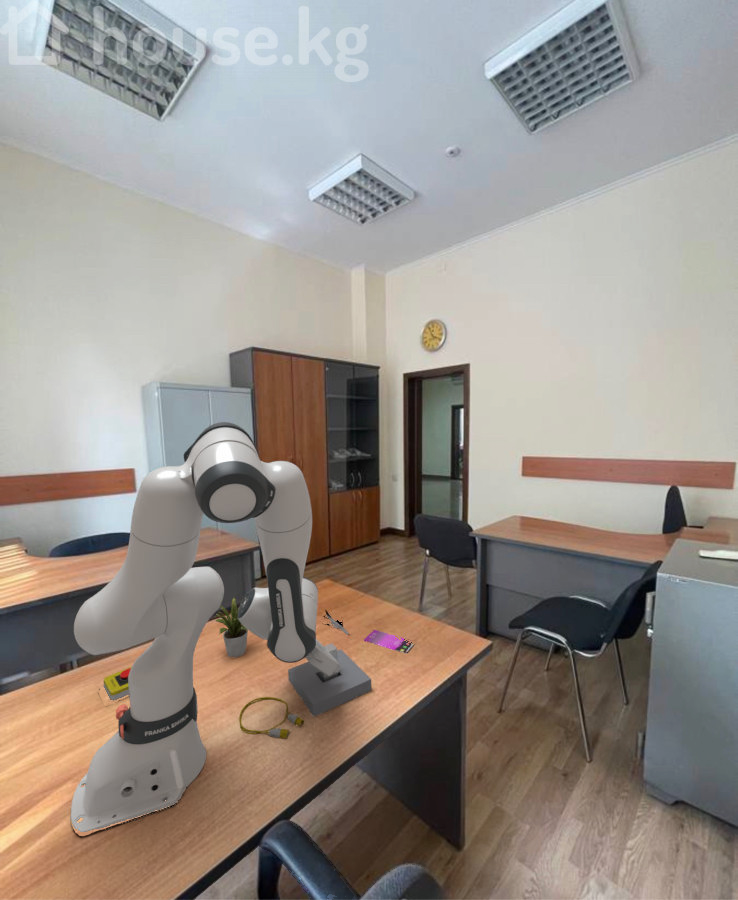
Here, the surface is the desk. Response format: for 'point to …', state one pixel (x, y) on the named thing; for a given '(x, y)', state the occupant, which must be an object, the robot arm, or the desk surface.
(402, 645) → the smartphone
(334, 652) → the grey square post
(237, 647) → the house plant
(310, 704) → the block
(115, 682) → the emergency button
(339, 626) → the toy airplane
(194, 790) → the desk surface
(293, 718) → the extension cord
